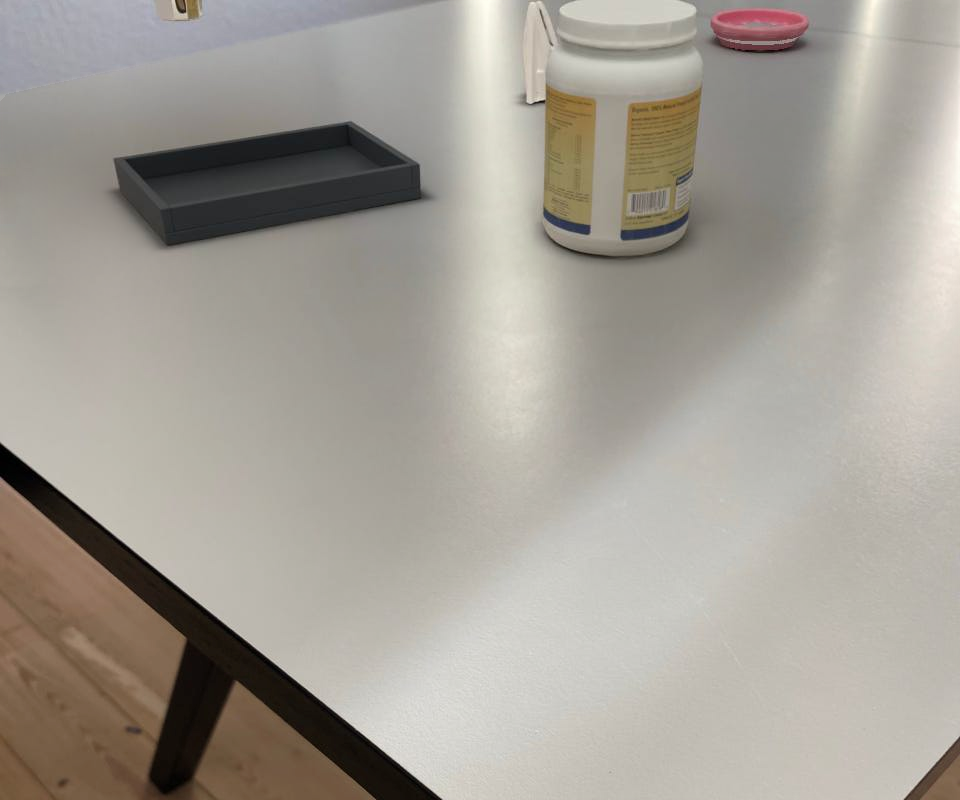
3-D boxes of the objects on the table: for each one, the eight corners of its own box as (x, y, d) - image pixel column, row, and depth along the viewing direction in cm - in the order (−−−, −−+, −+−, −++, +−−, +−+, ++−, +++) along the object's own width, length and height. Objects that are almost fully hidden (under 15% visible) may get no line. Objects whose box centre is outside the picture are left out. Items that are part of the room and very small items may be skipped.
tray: (167, 245, 93) (160, 209, 92) (120, 191, 104) (113, 158, 102) (421, 198, 102) (419, 164, 100) (353, 152, 112) (351, 120, 111)
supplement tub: (692, 214, 98) (716, -6, 87) (679, 266, 89) (705, 28, 78) (554, 205, 100) (561, -11, 89) (528, 255, 91) (532, 21, 80)
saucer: (689, 44, 147) (691, 17, 145) (746, 29, 153) (750, 2, 151) (767, 60, 140) (771, 32, 138) (824, 43, 146) (829, 16, 144)
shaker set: (612, 85, 131) (619, -23, 124) (627, 94, 128) (635, -16, 121) (516, 95, 128) (517, -15, 121) (528, 104, 125) (530, -8, 118)
